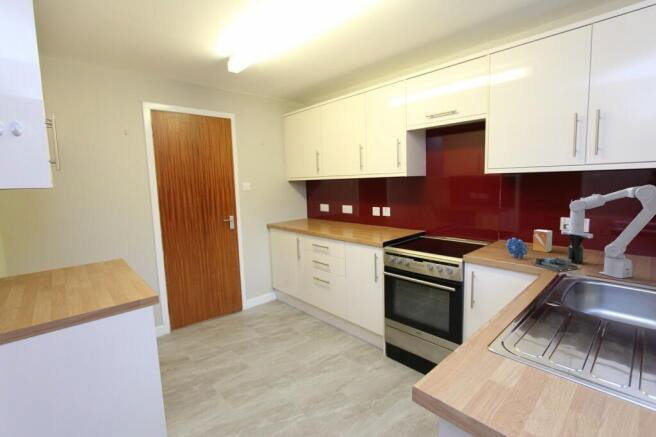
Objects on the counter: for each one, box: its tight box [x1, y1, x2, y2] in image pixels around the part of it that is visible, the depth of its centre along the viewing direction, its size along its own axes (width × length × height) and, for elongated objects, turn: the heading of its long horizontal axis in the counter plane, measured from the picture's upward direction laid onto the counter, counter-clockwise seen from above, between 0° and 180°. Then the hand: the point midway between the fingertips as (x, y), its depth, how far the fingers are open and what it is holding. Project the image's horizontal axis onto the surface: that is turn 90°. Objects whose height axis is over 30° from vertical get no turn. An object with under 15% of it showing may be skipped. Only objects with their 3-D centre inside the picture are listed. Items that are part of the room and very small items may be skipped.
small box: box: [532, 229, 553, 253], centre depth 201 cm, size 8×6×13 cm
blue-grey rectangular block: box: [541, 256, 556, 265], centre depth 170 cm, size 7×5×3 cm, turn 15°
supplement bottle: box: [567, 241, 585, 265], centre depth 173 cm, size 7×7×12 cm
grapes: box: [505, 237, 528, 259], centre depth 187 cm, size 12×7×12 cm, turn 42°
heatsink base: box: [532, 256, 579, 272], centre depth 167 cm, size 14×14×4 cm
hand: (575, 249), depth 162 cm, fingers closed
